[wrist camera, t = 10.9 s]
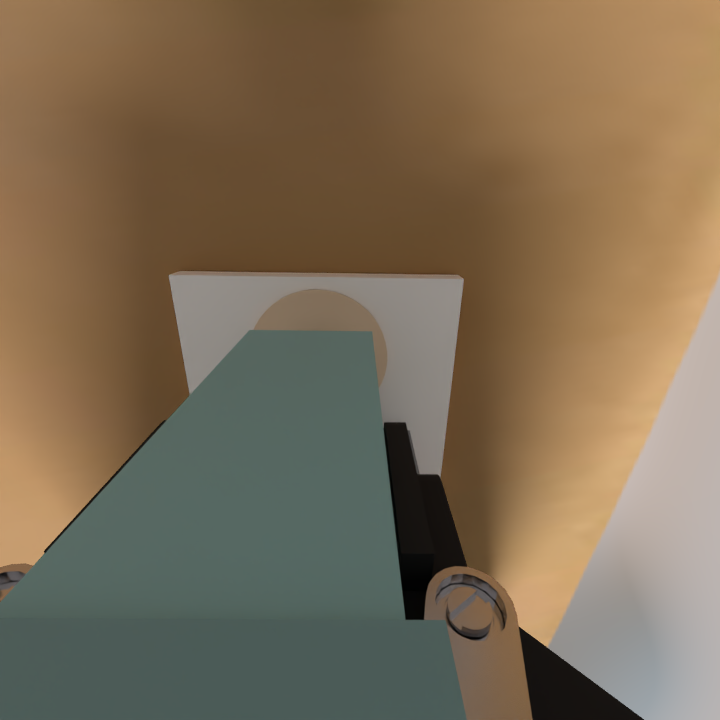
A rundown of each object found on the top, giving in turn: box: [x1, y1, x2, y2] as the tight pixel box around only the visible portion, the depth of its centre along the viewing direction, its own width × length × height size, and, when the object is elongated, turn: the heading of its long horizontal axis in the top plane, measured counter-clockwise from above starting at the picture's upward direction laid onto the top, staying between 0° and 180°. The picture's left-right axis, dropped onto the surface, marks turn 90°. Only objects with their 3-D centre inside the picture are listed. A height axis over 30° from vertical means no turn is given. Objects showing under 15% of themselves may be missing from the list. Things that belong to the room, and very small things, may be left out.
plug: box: [0, 330, 467, 720], centre depth 9 cm, size 5×5×12 cm
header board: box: [169, 271, 464, 478], centre depth 17 cm, size 16×12×6 cm
